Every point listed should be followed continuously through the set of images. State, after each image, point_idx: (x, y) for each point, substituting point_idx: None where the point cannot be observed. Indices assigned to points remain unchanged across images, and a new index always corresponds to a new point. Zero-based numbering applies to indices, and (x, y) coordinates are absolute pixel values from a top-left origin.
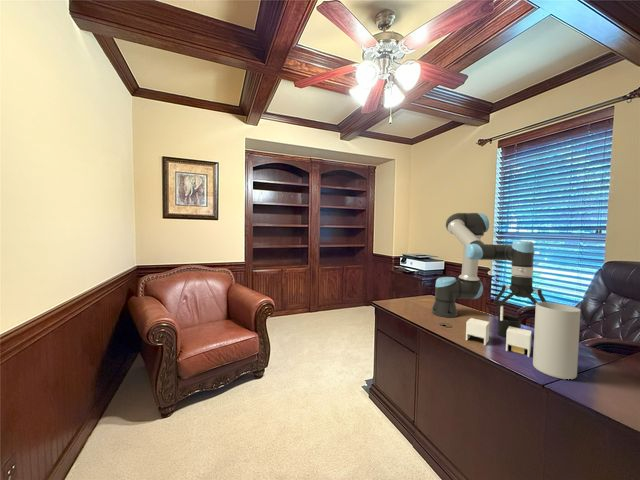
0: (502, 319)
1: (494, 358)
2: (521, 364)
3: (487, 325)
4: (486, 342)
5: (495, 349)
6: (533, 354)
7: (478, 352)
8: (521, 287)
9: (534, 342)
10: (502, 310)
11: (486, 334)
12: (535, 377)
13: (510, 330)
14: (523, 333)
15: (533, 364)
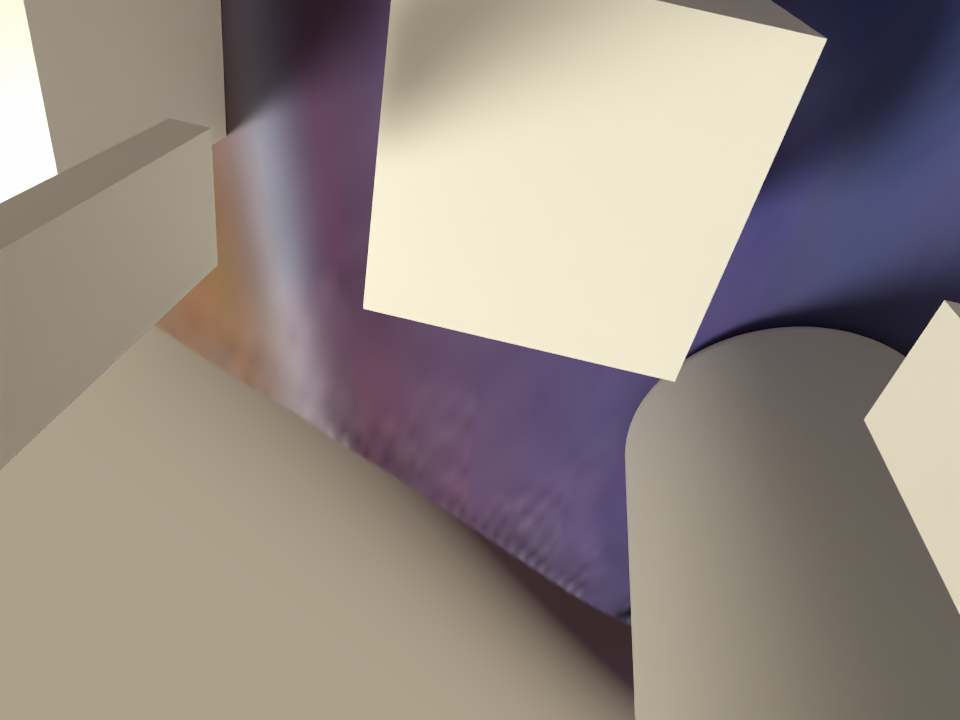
0: (205, 215)
1: (350, 414)
2: (542, 429)
3: (58, 106)
4: (215, 68)
5: (336, 202)
6: (628, 511)
7: (222, 359)
8: None
9: (632, 638)
10: (56, 400)
11: (153, 124)
12: (595, 566)
13: (417, 251)
14: (602, 304)
15: (625, 459)
